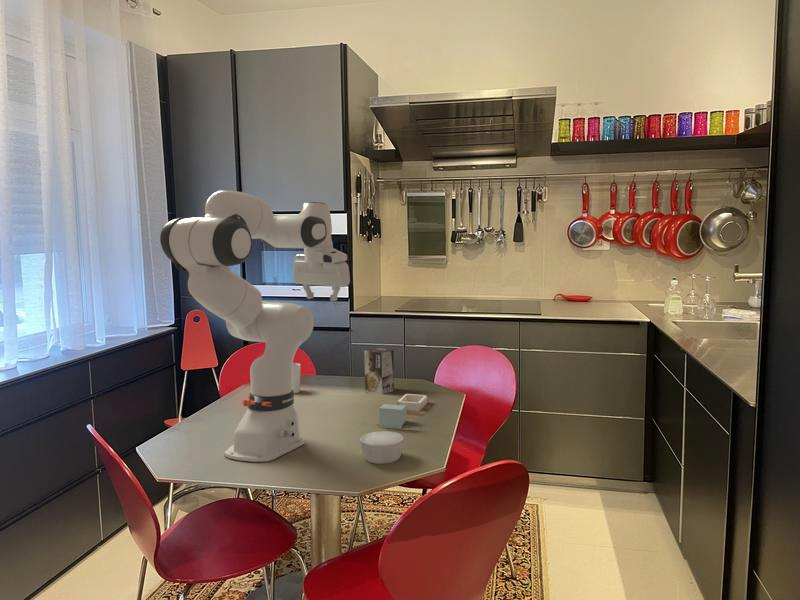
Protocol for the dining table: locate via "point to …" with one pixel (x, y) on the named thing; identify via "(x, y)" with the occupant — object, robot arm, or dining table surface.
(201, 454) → the dining table surface
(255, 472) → the dining table surface
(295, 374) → the drinking glass
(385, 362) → the coffee box
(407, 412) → the walnut board
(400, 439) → the ramekin
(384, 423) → the keyed plug
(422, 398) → the socket
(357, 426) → the dining table surface
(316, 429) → the dining table surface
